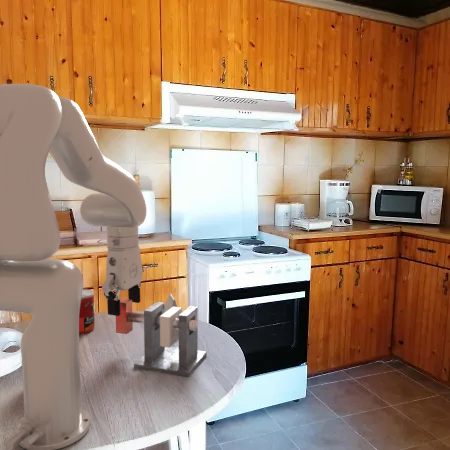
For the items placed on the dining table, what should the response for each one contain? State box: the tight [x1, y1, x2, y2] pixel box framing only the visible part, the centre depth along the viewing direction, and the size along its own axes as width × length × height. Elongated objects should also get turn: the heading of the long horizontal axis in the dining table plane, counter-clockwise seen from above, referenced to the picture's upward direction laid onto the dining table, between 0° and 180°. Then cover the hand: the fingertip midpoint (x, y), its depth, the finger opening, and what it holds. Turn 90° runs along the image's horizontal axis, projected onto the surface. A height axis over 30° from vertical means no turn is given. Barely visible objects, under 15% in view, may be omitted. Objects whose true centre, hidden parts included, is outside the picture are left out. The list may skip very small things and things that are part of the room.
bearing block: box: [133, 301, 207, 378], centre depth 105 cm, size 12×14×14 cm
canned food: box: [79, 288, 96, 335], centre depth 124 cm, size 8×8×11 cm
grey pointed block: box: [164, 293, 178, 313], centre depth 125 cm, size 4×7×10 cm, turn 18°
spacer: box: [160, 306, 183, 348], centre depth 104 cm, size 7×2×7 cm, turn 162°
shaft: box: [115, 297, 199, 335], centre depth 105 cm, size 3×21×8 cm, turn 72°
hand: (124, 308), depth 108 cm, fingers open, 9 cm apart
